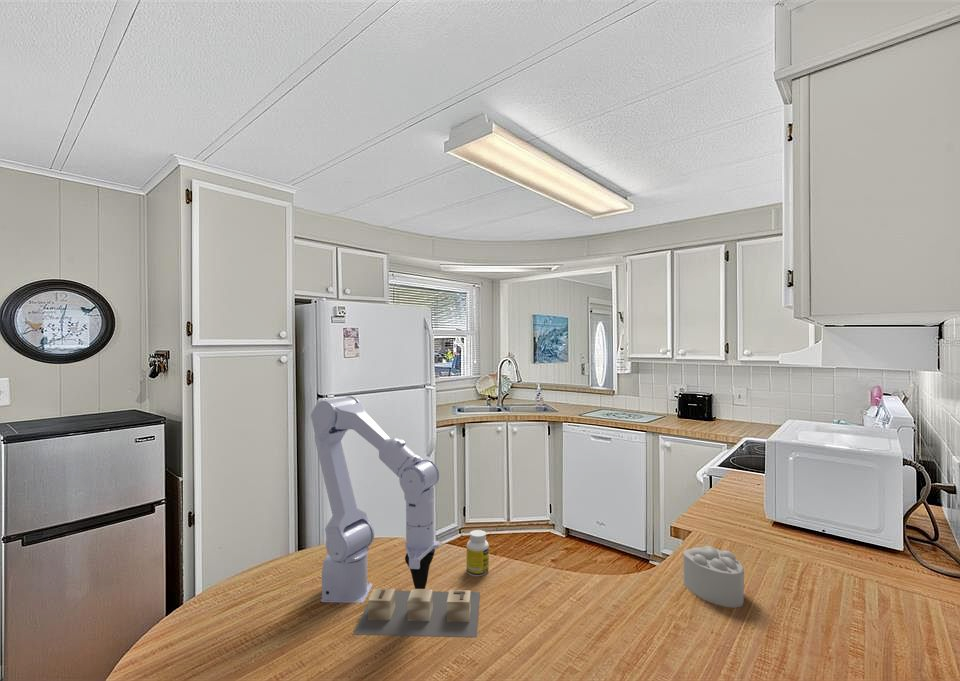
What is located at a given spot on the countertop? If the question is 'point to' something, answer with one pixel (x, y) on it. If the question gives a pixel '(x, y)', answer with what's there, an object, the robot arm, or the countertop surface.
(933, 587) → the countertop surface
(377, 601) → the numbered block left
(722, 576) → the lumpy-topped squat cylinder
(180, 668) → the countertop surface
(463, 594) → the numbered block right
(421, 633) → the charcoal mat
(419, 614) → the plain birch block
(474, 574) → the supplement bottle
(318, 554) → the countertop surface
